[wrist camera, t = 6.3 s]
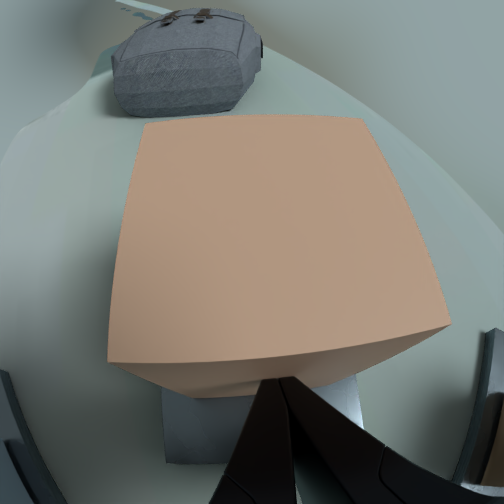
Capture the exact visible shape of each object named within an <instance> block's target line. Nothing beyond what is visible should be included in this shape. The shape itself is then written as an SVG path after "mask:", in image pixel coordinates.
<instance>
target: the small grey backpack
mask: <svg viewBox="0 0 504 504" xmlns="http://www.w3.org/2000/svg"><path fill="white" fill-rule="evenodd" d="M134 32H135V33H134V34H133V35H132V36H130V37H129V38H128V39H127V40H125V41H124V42H123V43H121V45H120V46H119V47H118V48H117V50H116V51H115V52H114V53H113V55H112V56H111V61H112V68H113V76H114V94H115V96H116V98H117V100H118V102H119V104H120V106H121V107H122V108H123V109H124V110H125V111H127V112H128V113H129V114H130V115H134V116H142V117H149V118H151V117H171V116H188V115H200V114H213V113H217V112H221V111H225V110H230V109H233V107H234V106H235V105H236V104H237V102H238V101H239V100H240V99H241V97H242V96H243V95H244V93H245V92H246V91H247V90H248V88H249V87H250V86H251V84H252V83H253V82H254V78H255V73H257V72H259V71H261V58H263V43H262V40H261V36H260V35H259V34H257V33H255V31H254V28H253V26H252V25H251V24H250V23H248V22H247V21H246V20H245V18H244V15H241V14H238V13H234V12H230V11H227V10H223V9H211V8H210V9H209V8H192V9H186V10H179V11H174V12H170V13H166V14H164V15H162V16H160V17H158V18H156V19H153V20H151V21H149V22H147V23H145V24H144V25H142V26H141V27H140V28H138V29H136V30H135V31H134Z"/></svg>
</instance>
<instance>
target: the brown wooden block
mask: <svg viewBox="0 0 504 504" xmlns="http://www.w3.org/2000/svg"><path fill="white" fill-rule="evenodd" d="M480 486H492V487H504V401H503V407H502V412H501V416H500V421H499V425H498V429H497V433H496V437H495V441H494V445H493V448H492V452H491V455H490V458H489V462H488V465H487V468H486V471H485V474H484V476H483V479H482V482H481V485H480Z"/></svg>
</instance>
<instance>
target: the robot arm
mask: <svg viewBox="0 0 504 504" xmlns="http://www.w3.org/2000/svg"><path fill="white" fill-rule="evenodd" d="M223 474H224V475H222V477H221V479H220V481H219V484H218V486H217V488H216V490H215V492H214V494H213V496H212V498H211V500H210V502H209V504H297V499H296V486H297V489H298V491H299V494H300V497H301V500H302V503H303V504H504V496H489V495H484V494H480V493H477V492H474V491H472V490H469V489H467V488H465V487H462V486H460V485H457V484H455V483H453V482H451V481H448V480H446V479H444V478H442V477H439V476H437V475H435V474H433V473H431V472H429V471H427V470H425V469H423V468H421V467H419V466H418V465H416V464H414V463H412V462H411V461H409V460H408V459H406V458H404V457H403V456H401V455H400V454H398V453H397V452H395V451H394V450H392V449H391V448H389V447H388V446H386V447H385V444H383V443H382V442H381V441H379V440H378V439H376V438H375V437H373V436H372V435H371V434H369V433H368V432H367V431H365V430H364V429H362V428H361V427H360V426H358V425H357V424H356V423H354V422H353V421H352V420H350V419H349V418H348V417H346V416H345V415H344V414H342V413H341V412H340V411H338V410H337V409H336V408H334V407H333V406H332V405H330V404H329V403H328V402H327V401H325V400H324V399H323V398H321V397H320V396H319V395H318V394H316V393H315V392H314V391H312V390H311V389H310V388H309V387H307V386H306V385H305V384H304V383H302V382H301V381H300V380H299V379H298V378H296V377H295V376H289V377H281V378H279V379H277V378H271V379H263V380H261V382H260V385H259V387H258V390H257V392H256V395H255V398H254V400H253V403H252V405H251V408H250V410H249V413H248V415H247V418H246V420H245V423H244V425H243V428H242V430H241V433H240V435H239V437H238V440H237V442H236V445H235V447H234V449H233V452H232V454H231V457H230V459H229V461H228V464H227V466H226V468H225V471H224V473H223ZM295 483H296V486H295Z"/></svg>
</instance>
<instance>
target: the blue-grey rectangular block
mask: <svg viewBox="0 0 504 504" xmlns="http://www.w3.org/2000/svg"><path fill="white" fill-rule="evenodd" d="M0 504H34V503H33V501H32V500H31V498H30V496H29V494H28V493H27V491H26V489H25V487H24V485H23V483H22V481H21V479H20V477H19V475H18V473H17V471H16V469H15V467H14V465H13V463H12V461H11V459H10V456H9V454H8V452H7V449H6V447H5V445H4V442H3V440H2V438H0Z"/></svg>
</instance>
